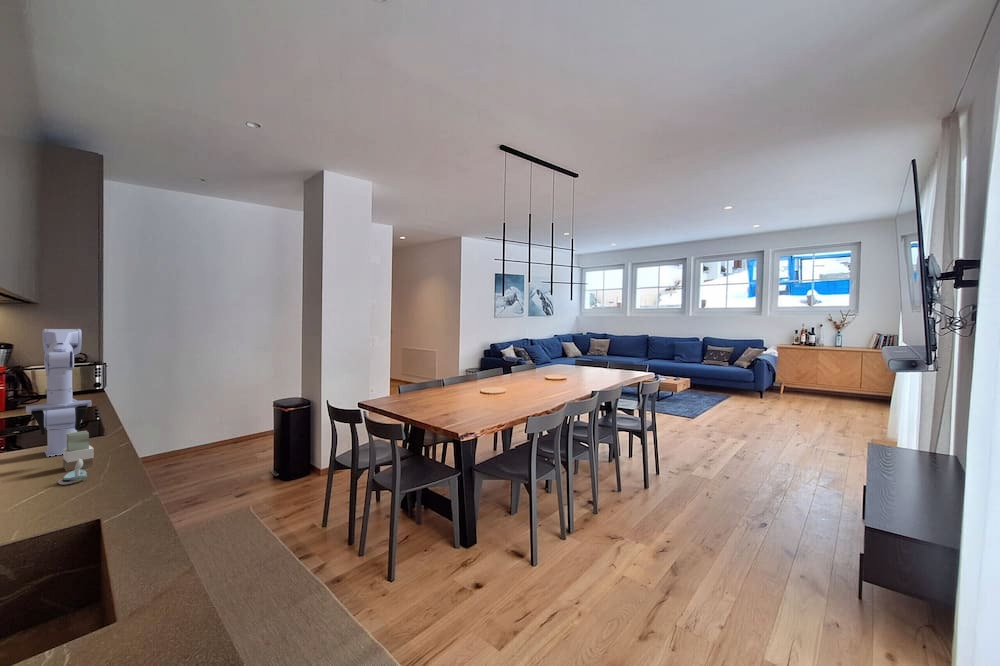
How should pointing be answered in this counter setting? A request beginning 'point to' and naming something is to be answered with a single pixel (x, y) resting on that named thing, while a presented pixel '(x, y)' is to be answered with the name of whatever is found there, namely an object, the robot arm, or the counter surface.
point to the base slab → (72, 465)
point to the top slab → (78, 454)
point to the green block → (77, 441)
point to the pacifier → (74, 474)
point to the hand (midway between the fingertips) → (60, 431)
